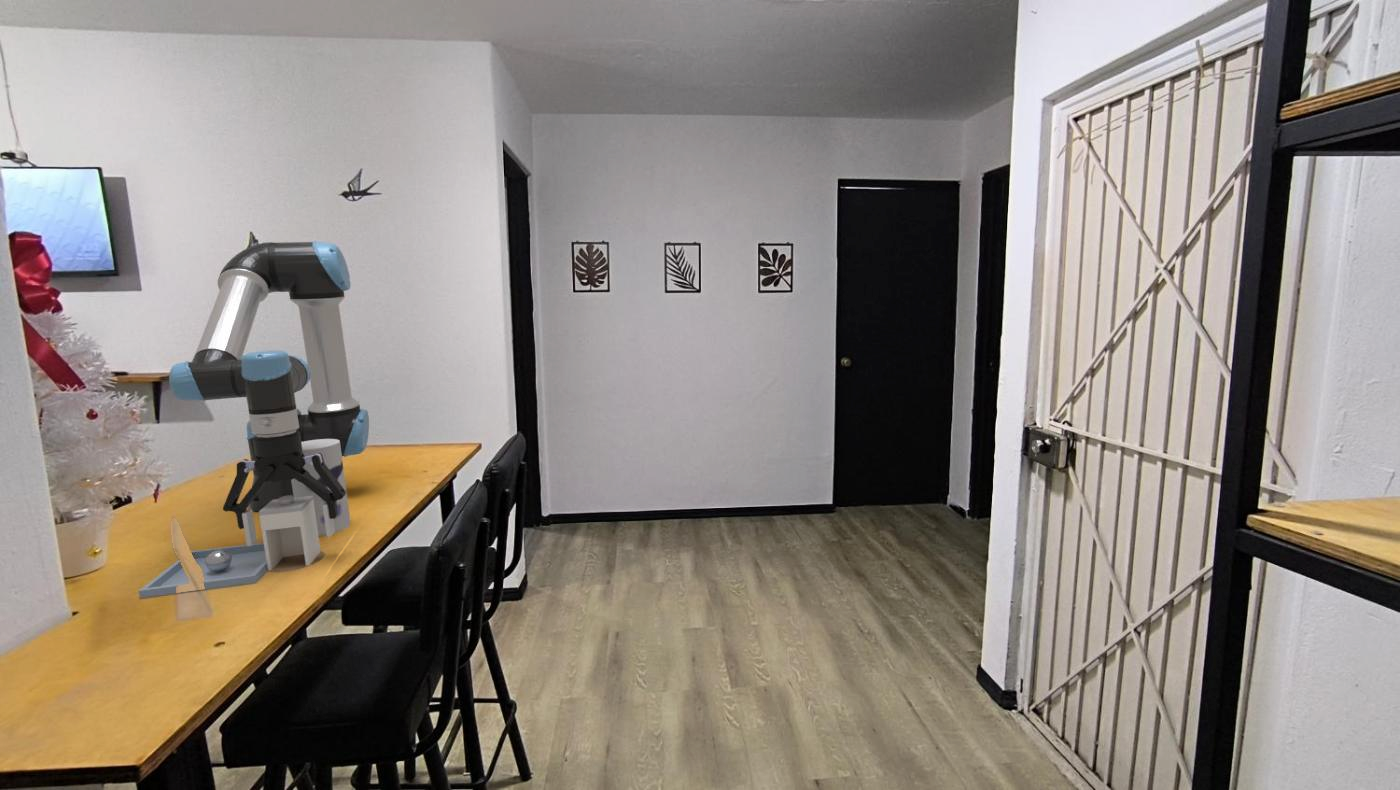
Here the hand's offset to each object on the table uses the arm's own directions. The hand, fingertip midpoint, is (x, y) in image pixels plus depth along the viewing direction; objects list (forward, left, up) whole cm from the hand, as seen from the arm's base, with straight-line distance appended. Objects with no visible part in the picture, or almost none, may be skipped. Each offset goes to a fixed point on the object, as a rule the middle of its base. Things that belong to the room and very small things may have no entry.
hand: (292, 538), depth 123 cm
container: (-18, +1, -5) cm, 19 cm away
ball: (+1, -12, -4) cm, 13 cm away
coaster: (0, 0, -5) cm, 5 cm away
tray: (0, -12, -5) cm, 14 cm away
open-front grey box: (0, 0, -4) cm, 5 cm away
